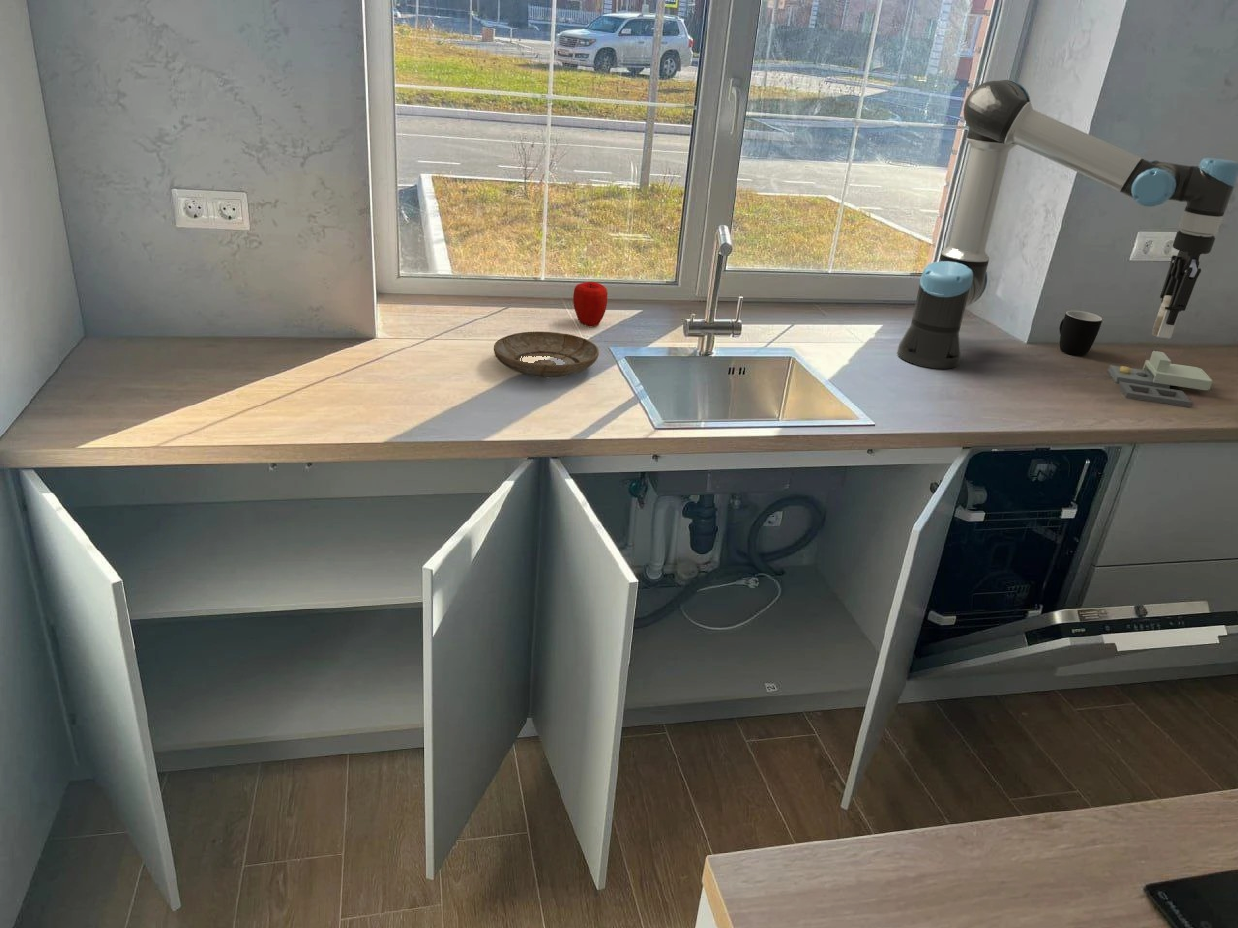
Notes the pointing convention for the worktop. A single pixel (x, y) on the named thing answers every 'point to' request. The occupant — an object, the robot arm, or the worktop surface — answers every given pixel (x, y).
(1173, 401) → the socket board
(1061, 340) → the mug
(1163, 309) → the pin
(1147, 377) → the board
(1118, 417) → the worktop surface
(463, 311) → the worktop surface
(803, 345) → the worktop surface
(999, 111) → the robot arm
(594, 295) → the apple
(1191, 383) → the cover
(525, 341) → the brown round shallow bowl
